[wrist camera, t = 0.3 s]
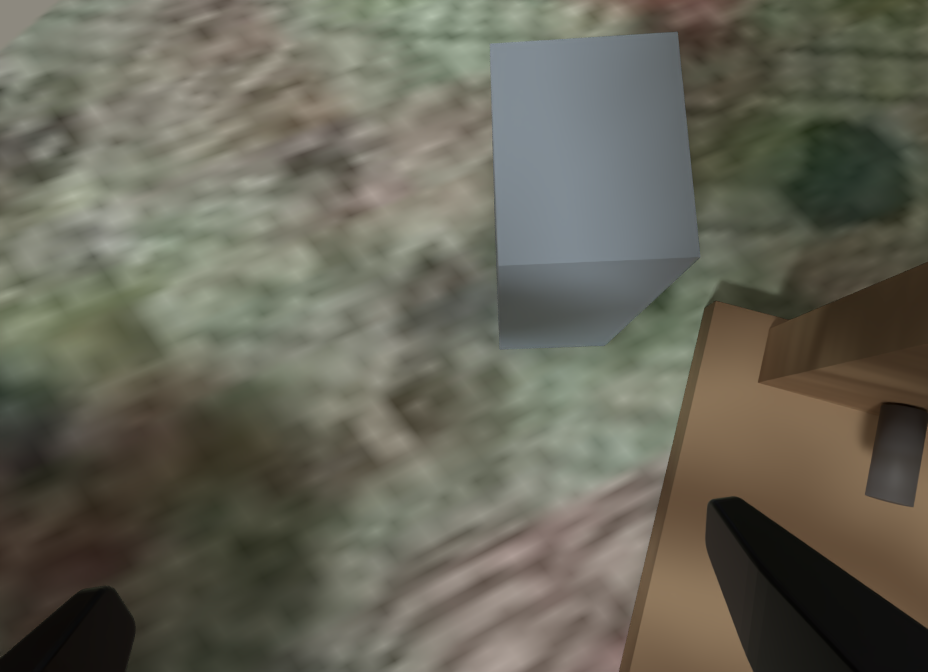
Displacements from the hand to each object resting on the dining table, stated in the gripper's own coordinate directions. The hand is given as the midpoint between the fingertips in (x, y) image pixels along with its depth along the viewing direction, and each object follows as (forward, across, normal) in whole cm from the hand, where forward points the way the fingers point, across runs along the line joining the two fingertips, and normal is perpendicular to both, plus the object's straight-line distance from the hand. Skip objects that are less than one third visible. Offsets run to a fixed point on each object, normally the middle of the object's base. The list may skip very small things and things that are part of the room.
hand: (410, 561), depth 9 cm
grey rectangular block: (+15, -4, +3) cm, 16 cm away
